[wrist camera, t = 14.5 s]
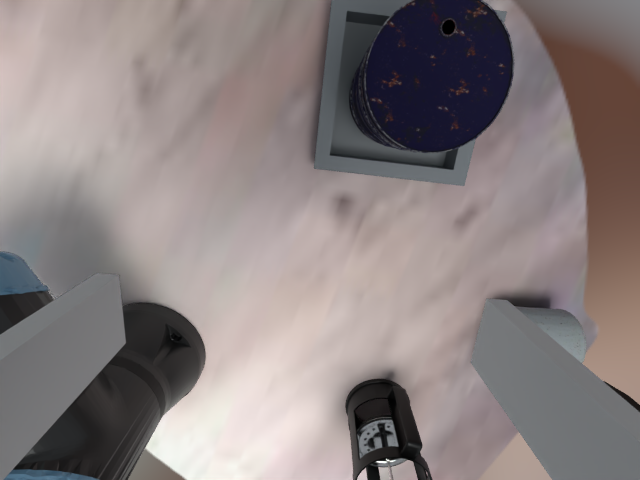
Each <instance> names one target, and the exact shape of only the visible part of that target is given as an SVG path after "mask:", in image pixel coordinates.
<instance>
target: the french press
mask: <svg viewBox="0 0 640 480" xmlns="http://www.w3.org/2000/svg"><path fill="white" fill-rule="evenodd" d="M374 399H388V404H389V408H390V412H391V415H381V416H376V417H372V418H370V419H368V420H366V421H362V420H361V419H360V418H358V416H357V415H356V413H355V410H356V409H357V408H358V407H359V406H360V405H362V404H363V403H365V402H368V401H370V400H374ZM346 413H347V415H348V423H349V430H350V437H351V449H352V461H353V480H357V477H358V476H359V474H360V473H361V471H362V470H364V469H365V468H366V471H367V479H368V480H380V476H379V469H378V467H388V471H389V476H390V480H393V476H392V470H391V467H392V466H396V465H398V464H401V463H403V462H405V461H406V460H410V461H413V462H414V466H415V470H416V474H417V477H418V480H432V477H431V474H430V471H429V468H428V465H427V463H426V461H425V460H424V458H423V457H422V456H421V454H420V451H421V449H422V442H421V439H420V435H419V432H418V429H417V426H416V423H415V419H414V416H413V413H412V410H411V406H410V400H409V397H408V395H407V393H406V390H405V389H403V388H402V387H401V386H399V385H398V384H396V383H394V382H392V381H389V380H384V379H374V380H369V381H365V382H363V383H361V384H359V385H358V386H356V387H355V388H354V389H353V390H352V391H351V392H350V394H349V395H348V397H347V400H346ZM425 470H426V471H427V473H428V476H427V474H426V471H425Z"/></svg>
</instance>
